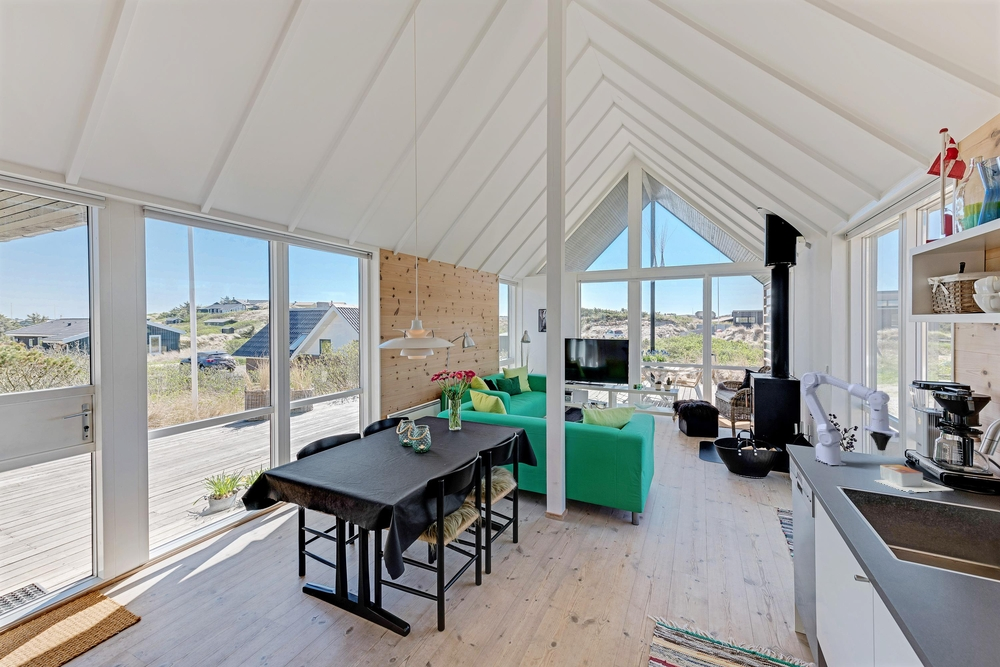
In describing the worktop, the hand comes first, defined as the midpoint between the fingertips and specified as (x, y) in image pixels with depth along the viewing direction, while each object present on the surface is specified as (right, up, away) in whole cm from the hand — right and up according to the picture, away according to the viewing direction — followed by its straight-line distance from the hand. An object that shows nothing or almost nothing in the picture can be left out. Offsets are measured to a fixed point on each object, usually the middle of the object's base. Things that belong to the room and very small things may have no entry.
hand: (881, 450), depth 177 cm
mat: (-1, -10, -15) cm, 18 cm away
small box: (-2, -7, -6) cm, 10 cm away
